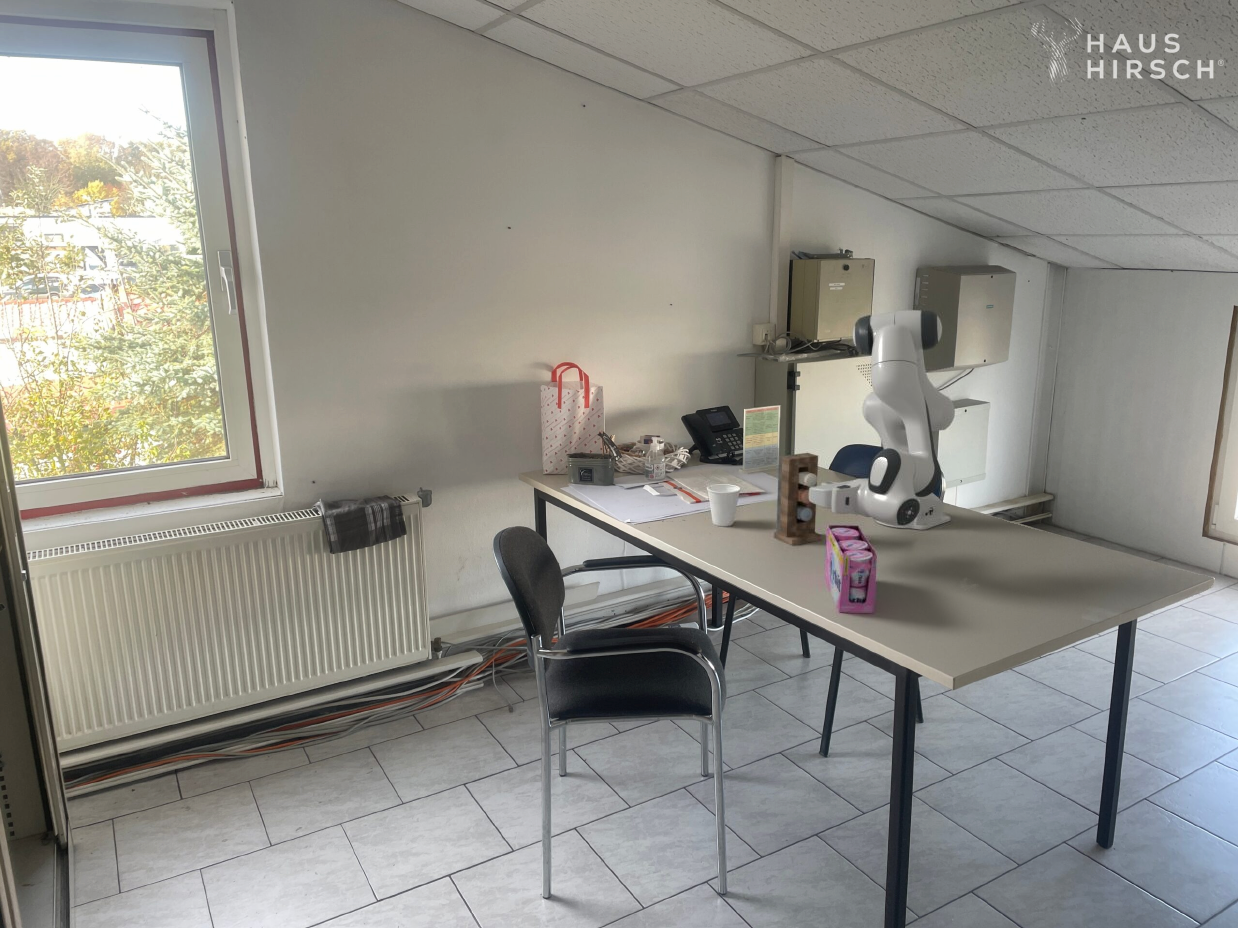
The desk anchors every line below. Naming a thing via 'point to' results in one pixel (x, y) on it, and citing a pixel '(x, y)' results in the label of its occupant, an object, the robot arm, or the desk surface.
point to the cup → (723, 503)
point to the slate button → (804, 513)
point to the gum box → (850, 569)
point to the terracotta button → (803, 495)
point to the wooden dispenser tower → (794, 500)
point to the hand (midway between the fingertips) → (825, 484)
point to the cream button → (807, 479)
